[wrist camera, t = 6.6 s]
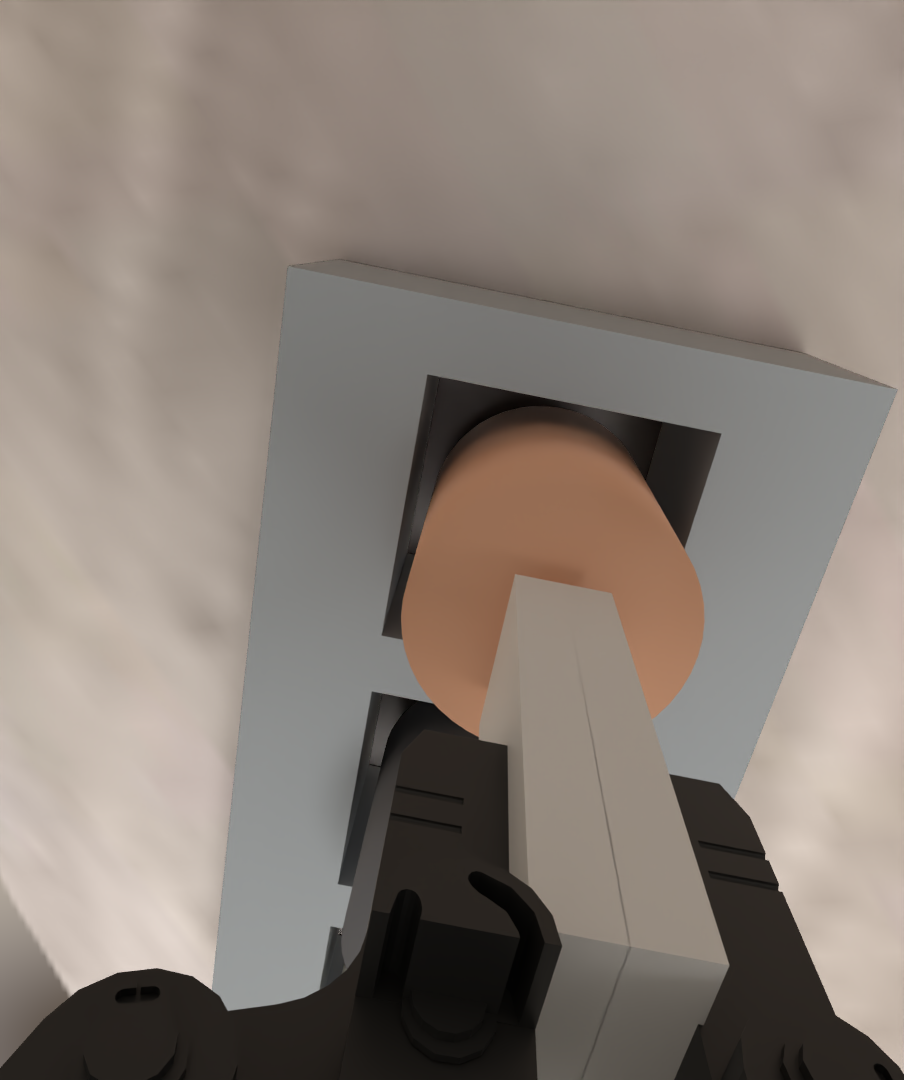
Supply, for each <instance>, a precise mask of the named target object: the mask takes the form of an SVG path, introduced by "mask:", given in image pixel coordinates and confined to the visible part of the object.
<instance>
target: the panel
mask: <svg viewBox="0 0 904 1080" xmlns="http://www.w3.org/2000/svg"><path fill="white" fill-rule="evenodd" d="M439 377H443V378H448V379H453V380H458V381H463V382H468V383H473V384H478V385H483V386H488V387H493V388H498V389H503V390H508V391H513V392H518V393H523V394H528V395H533V396H538V397H543V398H548V399H553V400H557V401H562V402H567V403H572V404H577V405H582V406H587V407H592V408H597V409H602V410H607V411H612V412H617V413H622V414H627V415H632V416H637V417H642V418H647V419H652V420H657V421H662V422H663V423H662V426H661V430H660V433H659V437H658V440H657V444H656V447H655V450H654V454H653V457H652V461H651V464H650V467H649V471H648V474H647V478H646V483H647V485H648V486H649V488H650V490H651V492H652V493H653V495H654V497H655V499H656V500H657V502H658V504H659V506H660V507H661V509H662V511H663V513H664V514H665V516H666V518H667V520H668V521H669V523H670V525H671V527H672V528H673V530H674V532H675V534H676V535H677V537H678V539H679V541H680V542H681V544H682V546H683V548H684V550H685V551H686V553H687V555H688V557H689V559H690V561H691V563H692V565H693V566H694V568H695V571H696V574H697V577H698V580H699V583H700V586H701V590H702V596H703V601H704V619H705V623H704V631H703V640H702V644H701V647H700V651H699V655H698V658H697V660H696V663H695V665H694V667H693V670H692V672H691V674H690V676H689V677H688V679H687V681H686V682H685V684H684V686H683V687H682V689H681V690H680V691H679V693H678V694H677V695H676V696H675V698H674V699H673V700H672V701H671V703H670V704H669V705H668V706H667V707H666V708H664V709H663V710H662V711H661V712H660V713H659V714H658V715H657V716H656V717H655V718H653V719H652V722H653V725H654V728H655V731H656V734H657V738H658V741H659V744H660V747H661V750H662V753H663V757H664V760H665V763H666V766H667V769H668V772H669V774H672V775H677V776H683V777H688V778H693V779H698V780H703V781H708V782H713V783H719V784H720V785H721V786H722V787H723V788H724V789H725V790H726V791H727V792H728V794H729V795H730V796H731V797H732V798H733V799H734V798H735V796H736V793H737V791H738V788H739V786H740V783H741V781H742V778H743V776H744V773H745V771H746V768H747V766H748V763H749V761H750V758H751V756H752V753H753V751H754V748H755V746H756V743H757V741H758V738H759V736H760V733H761V731H762V728H763V726H764V723H765V721H766V718H767V716H768V713H769V711H770V708H771V706H772V703H773V701H774V698H775V696H776V693H777V691H778V688H779V686H780V683H781V681H782V678H783V676H784V673H785V671H786V668H787V666H788V663H789V661H790V658H791V656H792V653H793V651H794V648H795V646H796V643H797V641H798V638H799V636H800V633H801V631H802V628H803V626H804V623H805V621H806V618H807V616H808V613H809V611H810V608H811V606H812V603H813V601H814V598H815V596H816V593H817V591H818V588H819V586H820V583H821V581H822V578H823V576H824V573H825V571H826V568H827V565H828V563H829V560H830V558H831V555H832V553H833V550H834V548H835V545H836V543H837V540H838V538H839V535H840V533H841V530H842V528H843V525H844V523H845V520H846V518H847V515H848V513H849V510H850V508H851V505H852V503H853V500H854V498H855V495H856V493H857V490H858V488H859V485H860V483H861V480H862V478H863V475H864V473H865V470H866V468H867V465H868V463H869V460H870V458H871V455H872V453H873V450H874V448H875V445H876V443H877V440H878V438H879V435H880V433H881V430H882V428H883V425H884V423H885V420H886V418H887V415H888V413H889V410H890V408H891V405H892V403H893V400H894V398H895V395H896V393H897V390H898V389H895V388H893V387H890V386H887V385H885V384H882V383H880V382H877V381H875V380H872V379H869V378H867V377H864V376H862V375H859V374H857V373H854V372H851V371H849V370H846V369H844V368H841V367H839V366H836V365H834V364H831V363H828V362H826V361H823V360H821V359H818V358H816V357H813V356H810V355H808V354H805V353H800V352H795V351H790V350H785V349H780V348H775V347H770V346H765V345H760V344H755V343H750V342H745V341H740V340H736V339H731V338H726V337H721V336H716V335H711V334H706V333H701V332H696V331H691V330H686V329H681V328H676V327H671V326H666V325H661V324H657V323H652V322H647V321H642V320H637V319H632V318H627V317H622V316H617V315H612V314H607V313H602V312H597V311H592V310H587V309H582V308H577V307H573V306H568V305H563V304H558V303H553V302H548V301H543V300H538V299H533V298H528V297H523V296H518V295H513V294H508V293H503V292H498V291H493V290H489V289H484V288H479V287H474V286H469V285H464V284H459V283H454V282H449V281H444V280H439V279H434V278H429V277H424V276H419V275H414V274H410V273H405V272H400V271H395V270H390V269H385V268H380V267H375V266H370V265H365V264H360V263H355V262H350V261H345V260H340V259H338V260H330V261H323V262H315V263H308V264H300V265H293V266H288V269H287V279H286V288H285V298H284V307H283V317H282V326H281V336H280V345H279V355H278V364H277V374H276V383H275V393H274V403H273V412H272V422H271V431H270V441H269V450H268V460H267V469H266V479H265V488H264V498H263V507H262V517H261V526H260V536H259V546H258V555H257V565H256V574H255V584H254V593H253V603H252V612H251V622H250V631H249V641H248V650H247V660H246V669H245V679H244V689H243V698H242V708H241V717H240V727H239V736H238V746H237V755H236V765H235V774H234V784H233V793H232V803H231V812H230V822H229V832H228V841H227V851H226V860H225V870H224V879H223V889H222V898H221V908H220V917H219V927H218V936H217V946H216V955H215V965H214V975H213V984H212V991H213V992H215V993H216V994H218V995H219V996H220V997H221V999H222V1001H223V1003H224V1005H225V1007H226V1008H227V1010H228V1011H230V1010H238V1009H245V1008H253V1007H260V1006H268V1005H275V1004H280V1003H284V1002H288V1001H292V1000H296V999H300V998H304V997H306V996H308V995H310V994H312V993H314V992H316V991H318V990H320V989H322V988H324V987H326V986H328V985H329V984H330V983H332V982H333V981H334V980H335V979H336V978H338V977H339V976H340V975H341V974H342V970H343V966H344V959H343V955H342V946H341V938H342V936H340V935H338V932H339V928H343V924H344V920H345V916H346V911H347V907H348V903H349V899H350V895H351V890H352V886H353V882H354V878H355V873H356V869H357V865H358V861H359V857H360V852H361V848H362V844H363V840H364V836H365V831H366V827H367V823H368V819H369V814H370V810H371V806H372V802H373V798H374V793H375V789H376V785H377V781H378V776H379V772H380V768H381V767H377V766H372V765H369V762H370V756H371V751H372V745H373V740H374V734H375V729H376V723H377V718H378V712H379V707H380V701H381V696H382V693H383V694H388V695H393V696H398V697H403V698H408V699H413V700H418V701H423V702H428V703H433V702H432V701H431V700H430V698H429V697H428V696H427V695H426V693H425V692H424V690H423V689H422V687H421V686H420V684H419V683H418V681H417V679H416V677H415V675H414V673H413V671H412V669H411V667H410V664H409V661H408V658H407V655H406V652H405V648H404V643H403V638H402V627H401V612H402V603H403V597H404V593H405V589H406V585H407V581H408V578H409V574H410V571H411V567H412V564H413V560H414V557H415V555H414V554H409V553H407V552H408V547H409V541H410V536H411V530H412V525H413V519H414V514H415V508H416V503H417V497H418V492H419V486H420V481H421V475H422V470H423V464H424V459H425V453H426V448H427V442H428V437H429V431H430V426H431V420H432V415H433V409H434V404H435V398H436V393H437V387H438V382H439Z"/></svg>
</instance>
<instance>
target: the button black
mask: <svg viewBox="0 0 904 1080" xmlns="http://www.w3.org/2000/svg"><path fill="white" fill-rule="evenodd" d="M424 729H425V730H430V731H436V732H441V733H446V734H451V735H456V736H461V737H466V738H472V739H477V740H479V737H478V736H476V735H474V734H472V733H470V732H468V731H466V730H465V729H464V728H462V727H461V726H459V725H458V724H456V723H455V722H453V721H452V720H451V719H450V718H448V717H447V716H446V715H445V714H444V713H443V712H442V711H440V710H439V709H438V707H437V706H436V705H435V704H434V703H428V702H423V701H419V702H417V703H416V704H414V705H413V706H412V707H410V708H409V709H408V710H407V711H406V712H405V713H404V714H403V715H402V716H401V717H400V718H399V719H398V721H397V722H396V724H395V725H394V727H393V728H392V730H391V733H390V735H389V737H388V740H387V743H386V747H385V751H384V755H383V760H382V764H381V768H380V772H379V776H378V781H377V785H376V789H375V793H374V798H373V802H372V806H371V810H370V814H369V819H368V823H367V827H366V831H365V836H364V840H363V844H362V848H361V852H360V857H359V861H358V865H357V869H356V873H355V878H354V882H353V886H352V890H351V895H350V899H349V903H348V907H347V911H346V916H345V920H344V924H343V928H342V938H341V946H342V955H343V959H344V963H345V966H346V968H347V969H348V967H349V966H350V965H351V963H352V962H353V960H354V959H355V957H356V956H357V955H358V953H359V952H360V950H361V947H362V944H363V941H364V939H365V936H366V932H367V926H368V921H369V916H370V911H371V906H372V901H373V896H374V890H375V885H376V880H377V875H378V870H379V865H380V860H381V854H382V849H383V844H384V839H385V834H386V829H387V824H388V819H389V814H390V809H391V804H392V799H393V794H394V789H395V784H396V779H397V774H398V769H399V764H400V759H401V754H402V752H403V751H404V750H405V749H406V748H407V747H408V746H409V745H410V744H411V743H412V742H413V741H414V740H415V739H416V737H417V736H418V735H419V734H420V733H421V732H422V731H423V730H424Z"/></svg>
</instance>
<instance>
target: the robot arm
mask: <svg viewBox="0 0 904 1080" xmlns="http://www.w3.org/2000/svg"><path fill="white" fill-rule="evenodd" d="M765 854H766V853H765V851H764V849H763V846H762V844H761V842H760V839H759V837H758V835H757V832H756V830H755V828H754V825H753V823H752V821H751V819H750V817H749V816H748V815H747V813H746V812H745V811H744V810H743V809H742V808H741V807H740V806H739V805H738V803H737V802H736V801H735V800H734V799H733V798H732V797H731V796H730V795H729V794H728V792H727V791H726V790H725V789H724V788H723V787H722V786H721V785H720V784H719V783H713V782H708V781H703V780H698V779H693V778H688V777H683V776H677V775H672V774H669V772H668V769H667V766H666V763H665V760H664V757H663V753H662V750H661V747H660V744H659V741H658V738H657V734H656V731H655V728H654V725H653V722H652V719H651V715H650V712H649V709H648V706H647V703H646V700H645V696H644V693H643V690H642V687H641V684H640V681H639V677H638V674H637V671H636V668H635V665H634V662H633V658H632V655H631V652H630V649H629V646H628V643H627V639H626V636H625V633H624V630H623V627H622V624H621V620H620V617H619V614H618V611H617V608H616V605H615V601H614V598H613V595H612V593H608V592H603V591H598V590H593V589H588V588H583V587H578V586H573V585H568V584H563V583H558V582H553V581H548V580H543V579H538V578H532V577H527V576H522V575H517V574H515V577H514V581H513V585H512V589H511V594H510V598H509V602H508V606H507V610H506V614H505V619H504V623H503V627H502V631H501V635H500V640H499V644H498V648H497V652H496V656H495V661H494V665H493V669H492V673H491V677H490V682H489V686H488V690H487V694H486V698H485V703H484V707H483V711H482V715H481V719H480V724H479V740H477V739H472V738H466V737H461V736H456V735H451V734H446V733H441V732H436V731H430V730H425V729H424V730H423V731H422V732H421V733H420V734H419V735H418V736H417V737H416V739H415V740H414V741H413V742H412V743H411V744H410V745H409V746H408V747H407V748H406V749H405V750H404V751H403V752H402V754H401V759H400V764H399V769H398V774H397V779H396V784H395V789H394V794H393V799H392V804H391V809H390V814H389V819H388V824H387V829H386V834H385V839H384V844H383V849H382V854H381V860H380V865H379V870H378V875H377V880H376V885H375V890H374V896H373V901H372V906H371V911H370V916H369V921H368V926H367V932H366V936H365V939H364V941H363V944H362V947H361V950H360V952H359V953H358V955H357V956H356V957H355V959H354V960H353V962H352V963H351V965H350V966H349V967H348V969H347V970H346V971H345V972H343V973H342V974H341V975H340V976H339V977H338V978H336V979H335V980H334V981H333V982H332V983H330V984H329V985H328V986H326V987H324V988H322V989H320V990H318V991H316V992H314V993H312V994H310V995H308V996H306V997H304V998H300V999H296V1000H292V1001H288V1002H284V1003H280V1004H275V1005H268V1006H260V1007H253V1008H245V1009H238V1010H230V1011H228V1010H227V1008H226V1007H225V1005H224V1003H223V1001H222V999H221V997H220V996H219V995H218V994H216V993H215V992H213V991H212V990H211V989H209V988H208V987H206V986H205V985H204V984H202V983H201V982H200V981H198V980H197V979H195V978H194V977H193V976H189V975H184V974H180V973H176V972H171V971H167V970H162V969H158V968H156V969H147V970H138V971H129V972H121V973H116V974H114V975H112V976H109V977H107V978H105V979H103V980H100V981H98V982H96V983H93V984H91V985H89V986H87V987H84V988H82V989H80V990H78V991H77V992H76V993H74V994H73V995H72V996H71V997H70V998H68V999H67V1000H66V1001H65V1002H64V1003H62V1004H61V1005H60V1006H59V1007H58V1008H56V1009H55V1010H54V1011H53V1012H52V1013H50V1014H49V1015H48V1016H47V1017H46V1018H45V1019H44V1020H43V1021H42V1022H41V1023H40V1024H39V1025H38V1026H37V1027H36V1028H35V1030H34V1031H33V1032H32V1033H31V1034H30V1035H29V1036H28V1037H27V1039H26V1040H25V1041H24V1042H23V1043H22V1044H21V1046H19V1048H18V1049H17V1050H16V1051H15V1052H14V1053H13V1054H12V1056H11V1057H10V1058H9V1059H8V1060H7V1061H6V1062H5V1063H4V1064H3V1066H2V1067H1V1068H0V1080H904V1074H903V1072H902V1071H901V1069H900V1068H899V1066H898V1065H897V1064H896V1063H895V1062H894V1061H893V1060H892V1059H890V1058H889V1057H888V1056H887V1055H886V1054H885V1053H884V1052H883V1051H882V1050H881V1049H880V1048H879V1047H878V1046H877V1045H876V1044H875V1043H874V1042H873V1041H872V1040H871V1039H870V1038H869V1037H868V1036H867V1035H865V1034H863V1033H862V1032H860V1031H859V1030H857V1029H856V1028H854V1027H853V1026H851V1025H850V1024H848V1023H847V1022H845V1021H843V1020H842V1019H840V1018H839V1017H837V1016H836V1015H835V1013H834V1010H833V1008H832V1006H831V1003H830V1001H829V999H828V996H827V994H826V992H825V989H824V987H823V985H822V983H821V980H820V978H819V976H818V973H817V971H816V969H815V966H814V964H813V962H812V959H811V957H810V955H809V953H808V950H807V948H806V946H805V943H804V941H803V939H802V936H801V934H800V932H799V929H798V927H797V925H796V922H795V920H794V918H793V916H792V913H791V911H790V909H789V906H788V904H787V902H786V899H785V897H784V895H783V892H779V891H778V886H779V883H778V881H777V879H776V876H775V874H774V872H773V869H772V867H771V865H770V862H769V861H768V860H765Z"/></svg>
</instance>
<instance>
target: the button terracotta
mask: <svg viewBox="0 0 904 1080" xmlns="http://www.w3.org/2000/svg"><path fill="white" fill-rule="evenodd" d="M515 574H517V575H522V576H527V577H532V578H538V579H543V580H548V581H553V582H558V583H563V584H568V585H573V586H578V587H583V588H588V589H593V590H598V591H603V592H608V593H612V595H613V598H614V601H615V605H616V608H617V611H618V614H619V617H620V620H621V624H622V627H623V630H624V633H625V636H626V639H627V643H628V646H629V649H630V652H631V655H632V658H633V662H634V665H635V668H636V671H637V674H638V677H639V681H640V684H641V687H642V690H643V693H644V696H645V700H646V703H647V706H648V709H649V712H650V715H651V719H653V718H655V717H656V716H657V715H658V714H659V713H660V712H661V711H662V710H663V709H664V708H666V707H667V706H668V705H669V704H670V703H671V701H672V700H673V699H674V698H675V696H676V695H677V694H678V693H679V691H680V690H681V689H682V687H683V686H684V684H685V682H686V681H687V679H688V677H689V676H690V674H691V672H692V670H693V667H694V665H695V663H696V660H697V658H698V655H699V651H700V647H701V644H702V640H703V631H704V623H705V619H704V601H703V596H702V590H701V586H700V583H699V580H698V577H697V574H696V571H695V568H694V566H693V565H692V563H691V561H690V559H689V557H688V555H687V553H686V551H685V550H684V548H683V546H682V544H681V542H680V541H679V539H678V537H677V535H676V534H675V532H674V530H673V528H672V527H671V525H670V523H669V521H668V520H667V518H666V516H665V514H664V513H663V511H662V509H661V507H660V506H659V504H658V502H657V500H656V499H655V497H654V495H653V493H652V492H651V490H650V488H649V486H648V485H647V483H646V481H645V479H644V478H643V476H642V474H641V472H640V471H639V469H638V467H637V465H636V464H635V462H634V460H633V458H632V457H631V455H630V453H629V452H628V451H627V449H626V448H625V446H624V445H623V444H622V442H621V441H620V440H619V439H618V438H617V437H616V436H615V435H614V434H613V433H612V432H610V431H609V430H608V429H607V428H605V427H604V426H603V425H602V424H600V423H598V422H596V421H595V420H593V419H591V418H590V417H587V416H585V415H583V414H580V413H578V412H575V411H571V410H568V409H564V408H558V407H551V406H530V407H522V408H517V409H513V410H509V411H505V412H503V413H500V414H498V415H495V416H493V417H491V418H489V419H487V420H485V421H483V422H482V423H480V424H478V425H477V426H476V427H474V428H473V429H472V430H470V431H469V432H468V433H467V434H466V435H465V436H464V437H463V438H462V439H461V440H460V441H459V442H458V443H457V444H456V445H455V446H454V448H453V449H452V450H451V452H450V453H449V455H448V456H447V458H446V460H445V461H444V463H443V465H442V467H441V470H440V472H439V474H438V477H437V480H436V484H435V487H434V491H433V494H432V498H431V501H430V505H429V508H428V512H427V515H426V518H425V522H424V525H423V529H422V532H421V536H420V539H419V543H418V546H417V550H416V553H415V557H414V560H413V564H412V567H411V571H410V574H409V578H408V581H407V585H406V589H405V593H404V597H403V603H402V612H401V627H402V638H403V643H404V648H405V652H406V655H407V658H408V661H409V664H410V667H411V669H412V671H413V673H414V675H415V677H416V679H417V681H418V683H419V684H420V686H421V687H422V689H423V690H424V692H425V693H426V695H427V696H428V697H429V698H430V700H431V701H432V702H433V703H434V704H435V705H436V706H437V707H438V709H439V710H440V711H442V712H443V713H444V714H445V715H446V716H447V717H448V718H450V719H451V720H452V721H453V722H455V723H456V724H458V725H459V726H461V727H462V728H464V729H465V730H466V731H468V732H470V733H472V734H474V735H476V736H478V737H479V724H480V719H481V715H482V711H483V707H484V703H485V698H486V694H487V690H488V686H489V682H490V677H491V673H492V669H493V665H494V661H495V656H496V652H497V648H498V644H499V640H500V635H501V631H502V627H503V623H504V619H505V614H506V610H507V606H508V602H509V598H510V594H511V589H512V585H513V581H514V577H515Z"/></svg>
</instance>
